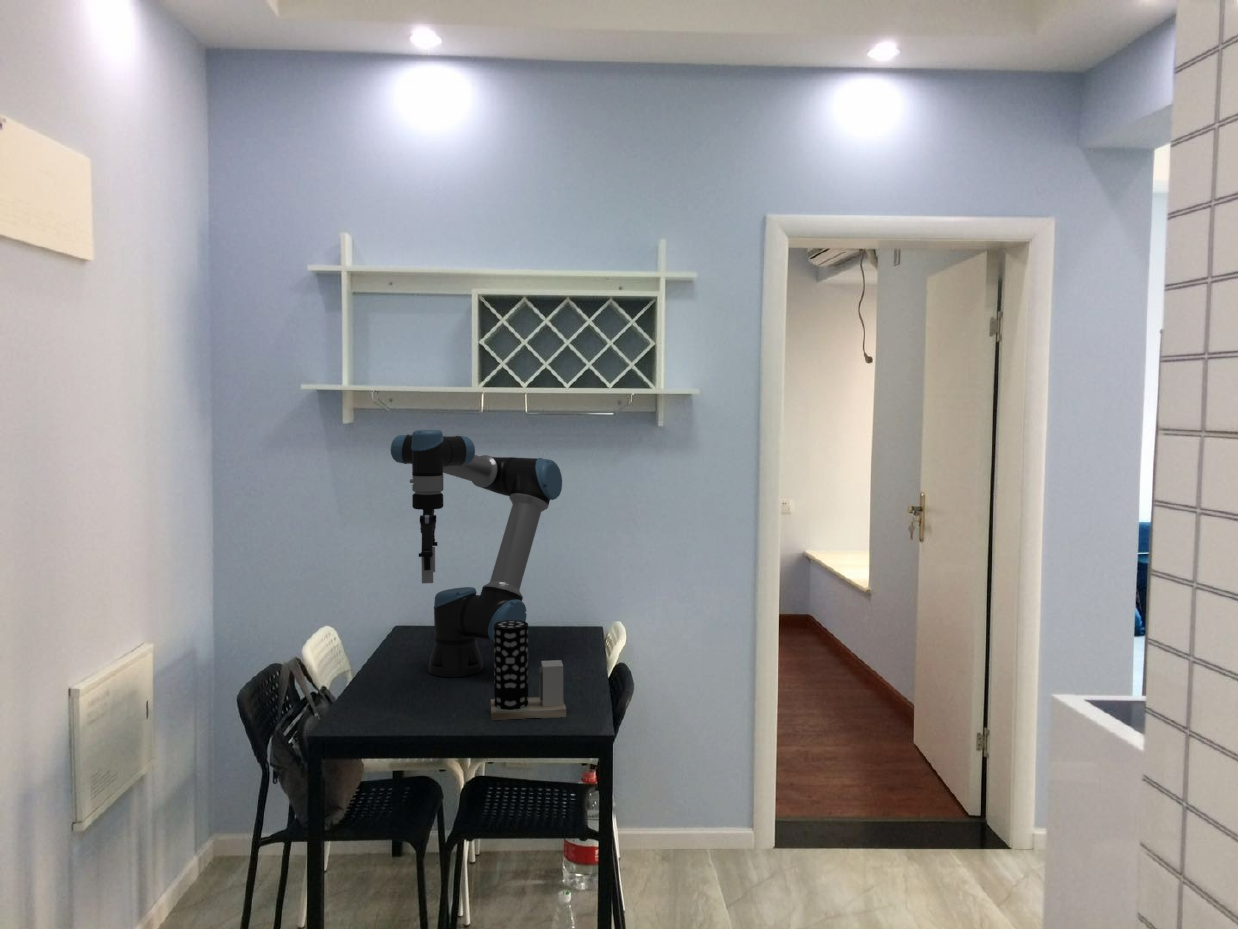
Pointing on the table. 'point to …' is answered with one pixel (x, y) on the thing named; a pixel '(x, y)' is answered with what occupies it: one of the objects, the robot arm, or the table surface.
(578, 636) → the table surface
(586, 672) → the table surface
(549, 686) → the block
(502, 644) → the white-spotted black cylinder
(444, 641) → the robot arm
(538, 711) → the beige rectangular board
